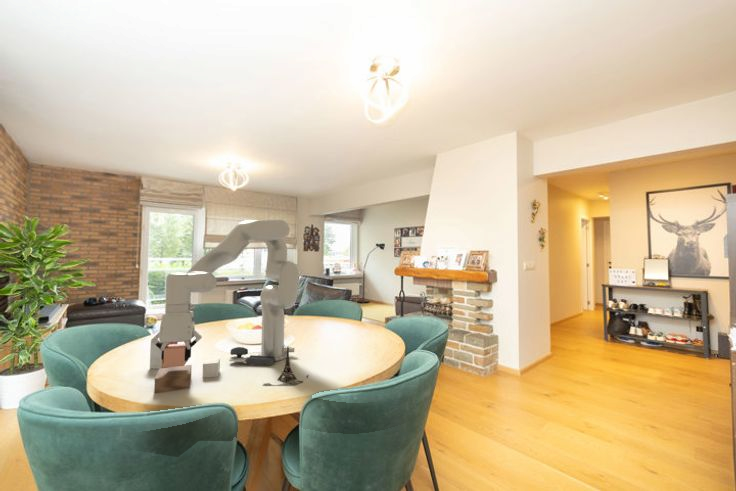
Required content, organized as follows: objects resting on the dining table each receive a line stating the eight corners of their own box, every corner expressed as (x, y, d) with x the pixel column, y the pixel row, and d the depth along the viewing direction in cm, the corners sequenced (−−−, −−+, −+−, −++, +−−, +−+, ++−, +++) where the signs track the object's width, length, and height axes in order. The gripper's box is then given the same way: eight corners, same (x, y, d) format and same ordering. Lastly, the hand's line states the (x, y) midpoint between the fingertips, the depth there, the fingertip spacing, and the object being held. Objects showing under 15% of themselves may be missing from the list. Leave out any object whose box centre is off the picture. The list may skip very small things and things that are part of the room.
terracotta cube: (188, 360, 115) (188, 343, 115) (183, 365, 109) (184, 348, 109) (168, 361, 113) (169, 344, 113) (163, 367, 107) (164, 349, 108)
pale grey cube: (219, 371, 124) (219, 358, 124) (217, 376, 119) (217, 362, 119) (205, 372, 122) (205, 359, 122) (202, 377, 117) (202, 363, 118)
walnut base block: (191, 378, 117) (191, 364, 117) (189, 389, 108) (190, 374, 108) (158, 383, 113) (159, 368, 113) (154, 394, 104) (154, 378, 104)
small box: (161, 369, 125) (162, 342, 125) (149, 368, 126) (150, 341, 126) (177, 362, 133) (178, 337, 133) (165, 361, 134) (166, 336, 134)
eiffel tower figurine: (261, 387, 110) (262, 348, 111) (268, 376, 121) (269, 340, 121) (305, 387, 111) (306, 348, 112) (309, 376, 121) (309, 340, 122)
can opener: (226, 365, 131) (226, 349, 131) (232, 361, 136) (233, 345, 136) (271, 366, 130) (272, 351, 130) (276, 362, 135) (276, 347, 135)
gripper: (207, 306, 118) (205, 355, 117) (153, 307, 113) (151, 359, 112) (203, 309, 111) (201, 362, 110) (145, 311, 106) (143, 366, 105)
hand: (176, 360), depth 111 cm, fingers closed on terracotta cube, 6 cm apart
